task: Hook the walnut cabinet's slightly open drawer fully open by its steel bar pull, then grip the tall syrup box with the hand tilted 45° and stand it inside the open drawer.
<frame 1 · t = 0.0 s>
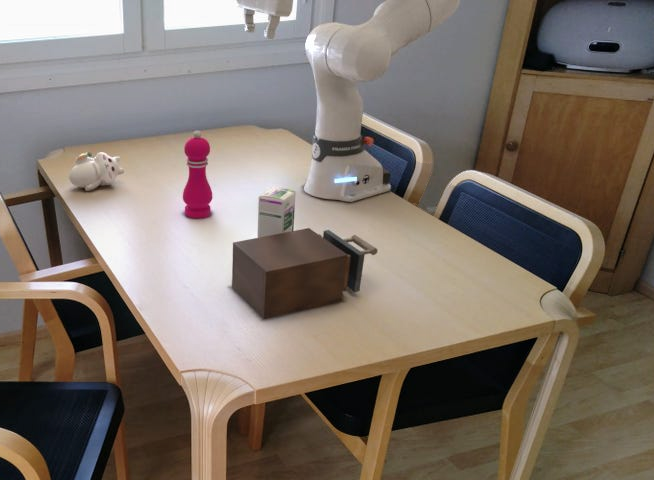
hand: (258, 35, 149), 39 cm above the table, tool pointing down, fingers open, 8 cm apart
cat figurine: (97, 186, 185), on the table
cabinet: (285, 294, 131), on the table
syrup box: (273, 259, 144), on the table
pepper mill: (197, 214, 166), on the table
drawer: (320, 264, 130), point 5 cm above the table, slide at 3.0 cm
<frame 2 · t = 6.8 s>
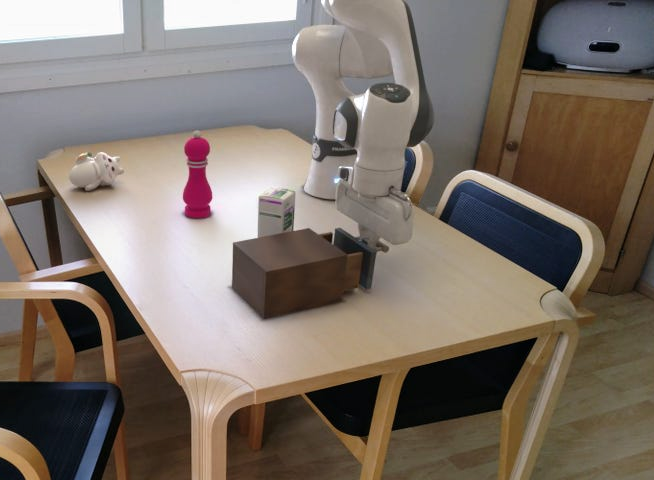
hand: (367, 248, 133), 6 cm above the table, tool pointing down, fingers closed, pressing on drawer
drawer: (332, 262, 131), point 5 cm above the table, slide at 5.6 cm, touching gripper
everything else where it was.
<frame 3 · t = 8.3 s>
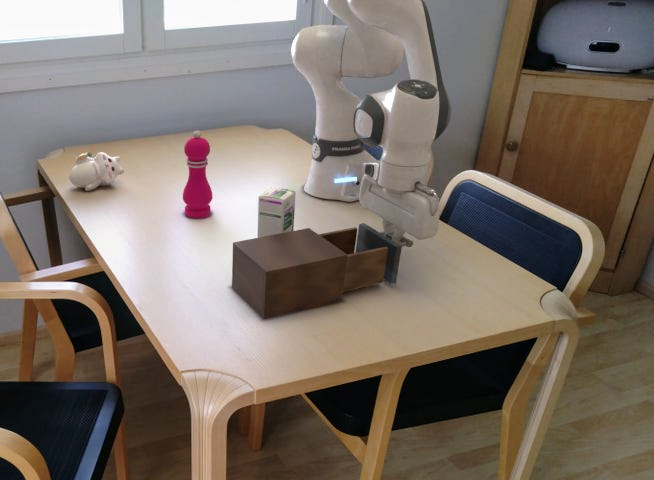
hand: (391, 243, 134), 6 cm above the table, tool pointing down, fingers closed, pressing on drawer
drawer: (356, 257, 133), point 5 cm above the table, slide at 11.3 cm, touching gripper
everything else where it was.
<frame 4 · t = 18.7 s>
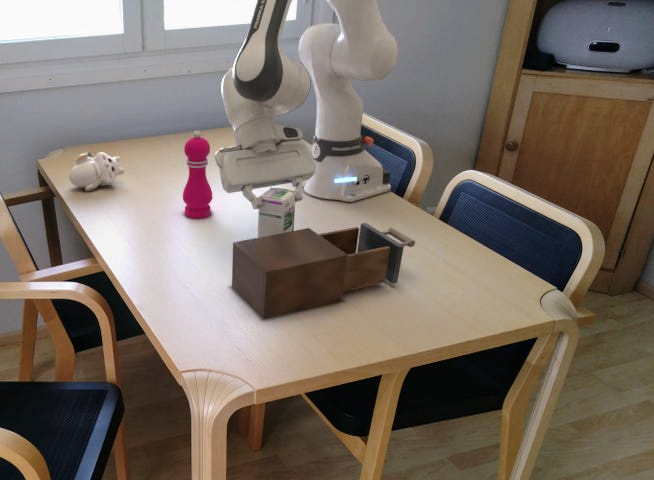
hand: (278, 204, 137), 12 cm above the table, tool tilted 45°, fingers closed on syrup box, 8 cm apart
syrup box: (274, 259, 144), on the table, touching gripper
drawer: (358, 256, 133), point 5 cm above the table, slide at 11.7 cm
everything else where it was.
when the fingers open (14 cm above the table, at t = 29.2 s): syrup box stays where it is, resting on drawer.
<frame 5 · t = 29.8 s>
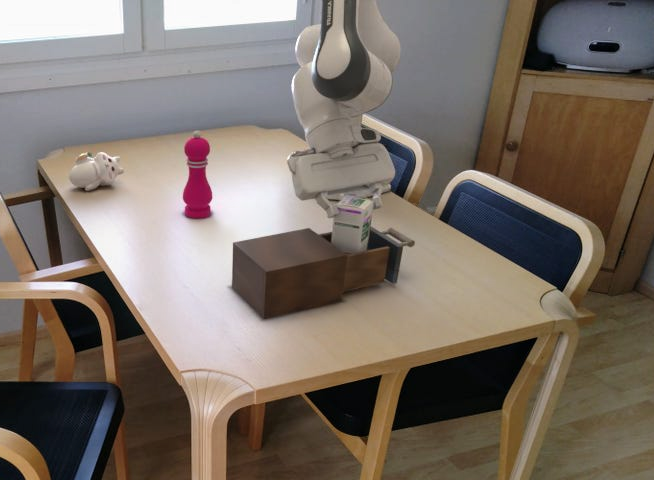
hand: (356, 212, 126), 15 cm above the table, tool tilted 45°, fingers open, 8 cm apart
syrup box: (345, 272, 134), point 2 cm above the table, touching drawer, gripper
drawer: (358, 256, 133), point 5 cm above the table, slide at 11.6 cm, touching syrup box
everything else where it was.
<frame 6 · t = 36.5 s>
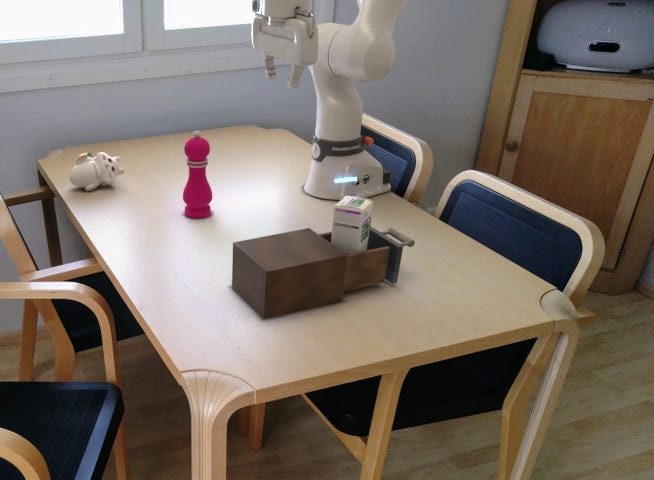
hand: (281, 82, 135), 33 cm above the table, tool pointing down, fingers open, 8 cm apart
syrup box: (345, 272, 134), point 2 cm above the table, touching drawer
everything else where it was.
at the end: drawer slide at 11.6 cm; syrup box inside the target area in the drawer (1.0 cm from its centre), point 1.8 cm above the cabinet's base; syrup box tilted 0° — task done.
